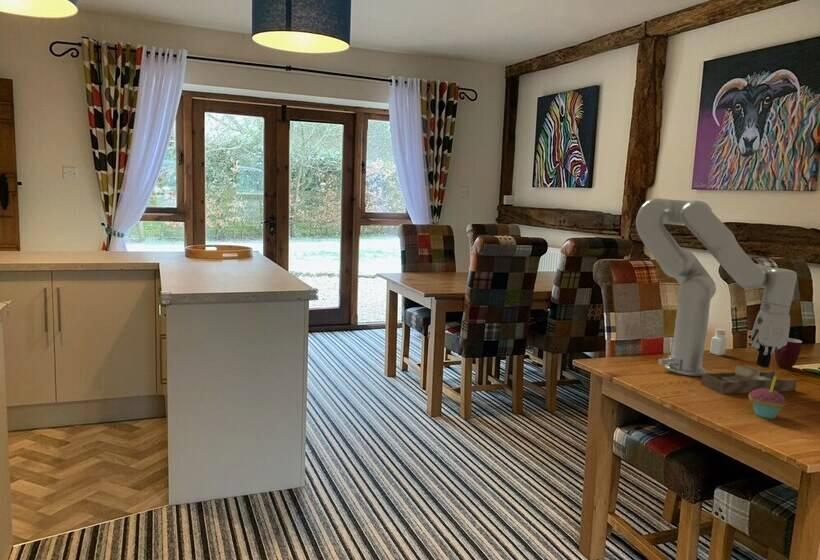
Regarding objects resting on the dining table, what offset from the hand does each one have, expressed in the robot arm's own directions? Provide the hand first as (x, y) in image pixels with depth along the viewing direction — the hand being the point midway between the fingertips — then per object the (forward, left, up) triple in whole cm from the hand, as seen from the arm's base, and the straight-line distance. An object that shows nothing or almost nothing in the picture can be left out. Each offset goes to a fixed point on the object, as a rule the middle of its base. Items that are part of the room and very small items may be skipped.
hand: (762, 366), depth 184 cm
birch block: (-7, -2, -4) cm, 8 cm away
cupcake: (-21, -22, -7) cm, 31 cm away
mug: (+28, +16, -7) cm, 33 cm away
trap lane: (-5, -1, -6) cm, 8 cm away
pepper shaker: (+16, +35, -7) cm, 39 cm away
